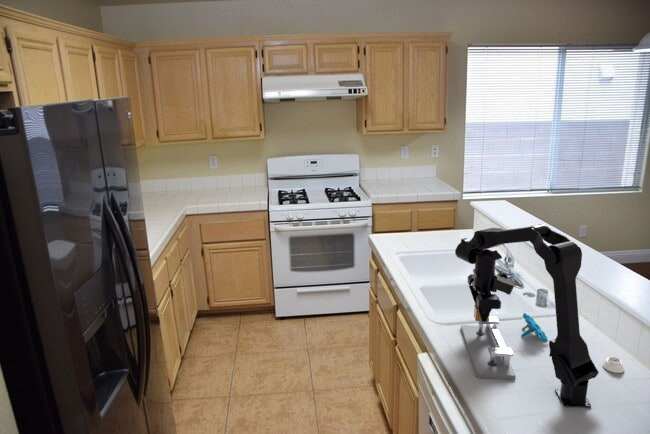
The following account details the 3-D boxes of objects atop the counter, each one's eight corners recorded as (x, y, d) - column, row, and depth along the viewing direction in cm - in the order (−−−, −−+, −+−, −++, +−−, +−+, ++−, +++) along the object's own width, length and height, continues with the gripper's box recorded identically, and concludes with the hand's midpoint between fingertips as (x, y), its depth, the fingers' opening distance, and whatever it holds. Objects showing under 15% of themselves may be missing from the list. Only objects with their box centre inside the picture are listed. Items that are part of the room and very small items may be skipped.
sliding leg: (497, 335, 142) (500, 309, 140) (474, 334, 143) (476, 309, 141) (495, 330, 145) (497, 305, 143) (472, 329, 146) (474, 304, 144)
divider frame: (512, 367, 127) (513, 353, 126) (489, 366, 128) (490, 353, 127) (493, 327, 148) (494, 314, 147) (474, 326, 149) (474, 314, 148)
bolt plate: (515, 379, 124) (515, 375, 124) (477, 377, 126) (477, 373, 125) (492, 329, 149) (492, 325, 149) (460, 328, 150) (461, 324, 150)
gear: (552, 344, 137) (528, 318, 138) (535, 355, 139) (512, 330, 140) (546, 329, 148) (524, 306, 149) (531, 340, 149) (509, 317, 150)
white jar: (598, 364, 130) (612, 375, 125) (599, 355, 129) (613, 366, 124) (613, 362, 131) (628, 372, 126) (615, 353, 130) (629, 363, 125)
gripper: (522, 282, 129) (517, 332, 133) (504, 257, 146) (500, 302, 151) (480, 282, 130) (477, 331, 134) (468, 257, 148) (465, 301, 152)
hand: (481, 315), depth 143 cm, fingers open, 7 cm apart
